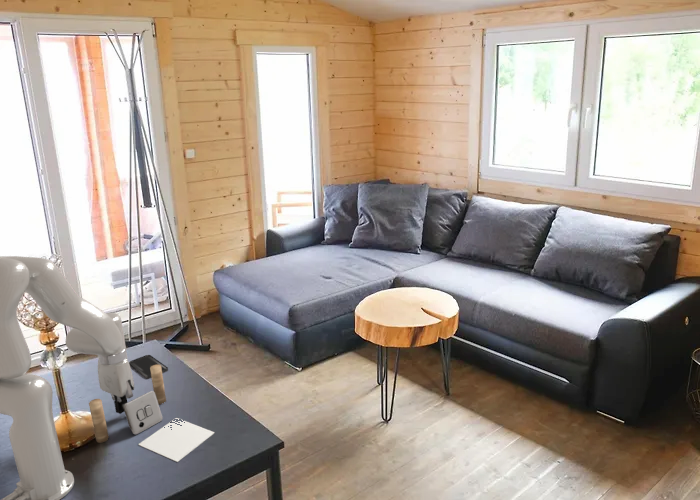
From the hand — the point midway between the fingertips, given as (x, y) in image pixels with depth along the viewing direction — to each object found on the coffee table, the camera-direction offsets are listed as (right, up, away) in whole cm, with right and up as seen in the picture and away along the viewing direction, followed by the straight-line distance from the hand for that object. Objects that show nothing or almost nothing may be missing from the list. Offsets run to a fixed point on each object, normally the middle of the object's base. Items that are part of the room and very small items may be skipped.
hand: (122, 410), depth 168 cm
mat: (+19, -5, -10) cm, 22 cm away
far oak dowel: (+9, +1, +8) cm, 12 cm away
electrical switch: (+8, -3, -3) cm, 9 cm away
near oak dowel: (-2, -5, -9) cm, 11 cm away
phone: (-2, +7, +29) cm, 29 cm away
